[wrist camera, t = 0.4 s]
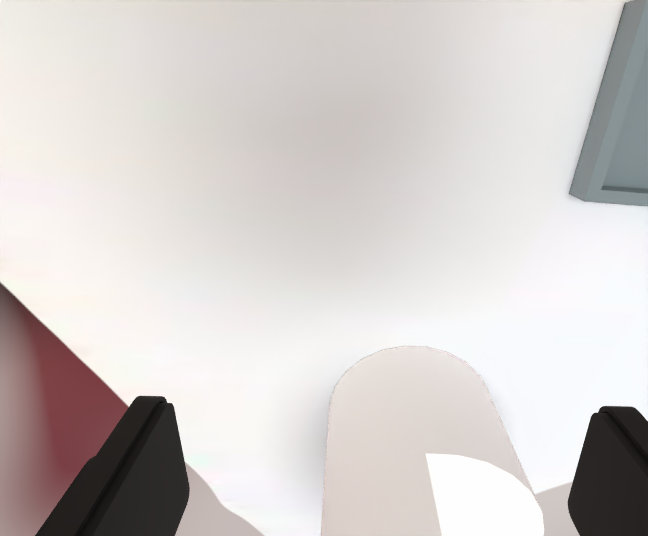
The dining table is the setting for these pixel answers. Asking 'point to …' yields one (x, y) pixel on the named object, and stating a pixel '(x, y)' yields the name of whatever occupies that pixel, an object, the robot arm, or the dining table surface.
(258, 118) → the dining table surface
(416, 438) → the cylinder
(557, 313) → the dining table surface
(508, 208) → the dining table surface
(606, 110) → the tray
